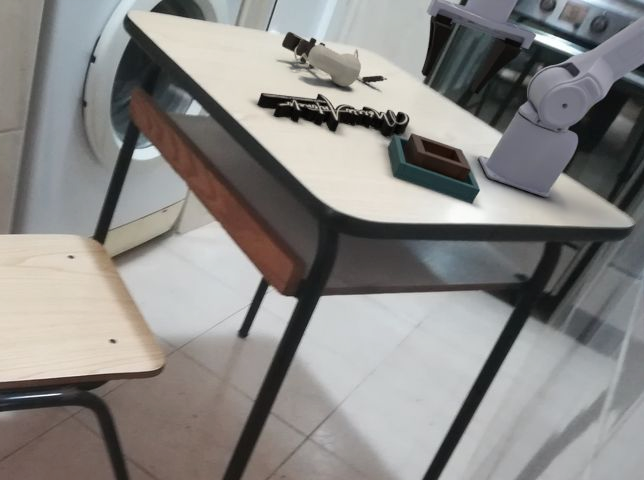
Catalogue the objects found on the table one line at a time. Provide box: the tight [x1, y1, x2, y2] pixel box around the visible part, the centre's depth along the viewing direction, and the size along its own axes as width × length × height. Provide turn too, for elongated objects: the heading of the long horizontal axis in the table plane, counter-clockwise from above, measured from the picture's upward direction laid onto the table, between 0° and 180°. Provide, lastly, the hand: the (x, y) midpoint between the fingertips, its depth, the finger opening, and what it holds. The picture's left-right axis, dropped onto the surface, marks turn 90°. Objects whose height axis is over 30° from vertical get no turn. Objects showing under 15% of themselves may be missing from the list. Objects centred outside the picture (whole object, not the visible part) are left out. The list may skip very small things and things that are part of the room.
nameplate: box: [257, 92, 410, 138], centre depth 100 cm, size 28×2×10 cm
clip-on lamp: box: [281, 31, 388, 87], centre depth 115 cm, size 12×6×18 cm
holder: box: [387, 134, 481, 204], centre depth 92 cm, size 11×11×2 cm
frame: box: [403, 132, 472, 182], centre depth 91 cm, size 8×7×3 cm
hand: (449, 83), depth 96 cm, fingers open, 7 cm apart
